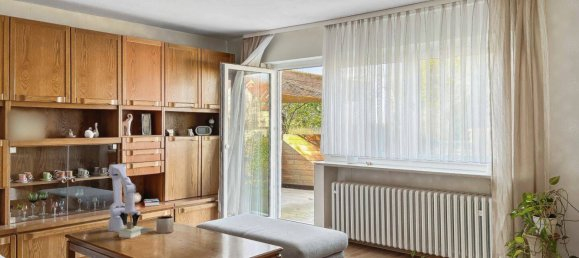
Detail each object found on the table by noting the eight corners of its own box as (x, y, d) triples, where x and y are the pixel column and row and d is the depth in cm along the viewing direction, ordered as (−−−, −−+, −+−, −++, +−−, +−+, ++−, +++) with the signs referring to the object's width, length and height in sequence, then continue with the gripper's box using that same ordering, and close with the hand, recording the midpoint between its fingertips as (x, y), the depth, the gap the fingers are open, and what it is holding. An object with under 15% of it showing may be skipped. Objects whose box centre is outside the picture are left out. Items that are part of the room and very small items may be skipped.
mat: (127, 232, 292) (127, 231, 292) (139, 228, 303) (139, 227, 303) (142, 233, 288) (142, 233, 288) (154, 229, 299) (154, 228, 299)
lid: (117, 230, 278) (117, 222, 277) (129, 226, 288) (129, 219, 288) (131, 232, 274) (131, 224, 274) (143, 228, 284) (143, 220, 284)
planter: (170, 234, 287) (170, 219, 287) (154, 234, 287) (153, 219, 287) (175, 230, 298) (175, 215, 298) (159, 230, 298) (159, 215, 298)
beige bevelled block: (119, 237, 278) (119, 230, 278) (129, 234, 286) (129, 227, 286) (130, 239, 274) (130, 231, 274) (140, 235, 283) (140, 228, 283)
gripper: (143, 203, 281) (143, 224, 281) (124, 202, 286) (125, 223, 286) (135, 205, 275) (135, 227, 275) (117, 203, 280) (117, 225, 280)
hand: (129, 225), depth 280 cm, fingers open, 7 cm apart
